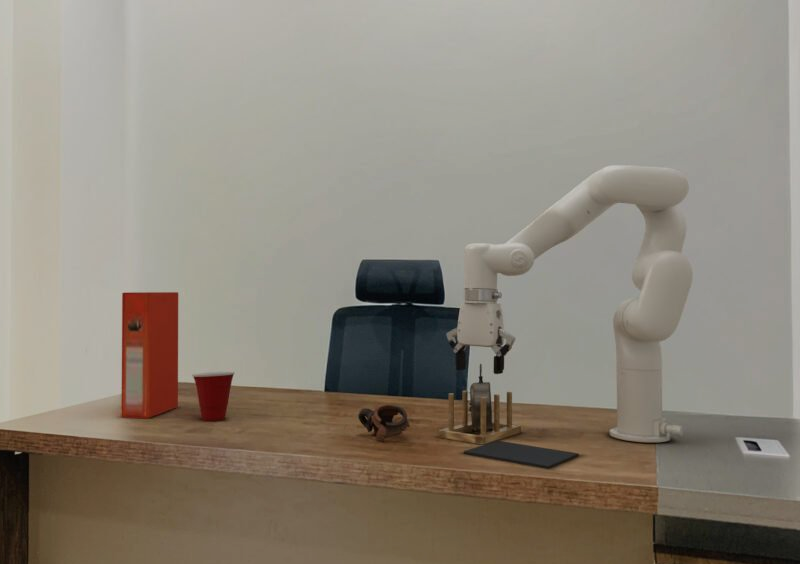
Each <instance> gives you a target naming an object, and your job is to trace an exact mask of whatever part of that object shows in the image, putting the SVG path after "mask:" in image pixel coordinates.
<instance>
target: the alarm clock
mask: <svg viewBox="0 0 800 564" xmlns="http://www.w3.org/2000/svg"><path fill="white" fill-rule="evenodd" d="M482 371H483V365H482V363H480V364H479V376H478V382H473V383H471V385H470V387H469V392H468V394H469V399H470V402H468V405H469V408H468V411H469V412H470V417H471V422H472V427H473V429H472V431H471V432H470V434H473V432H475V431H476V432H481V397H486V433H487V432H490V431H494V429H493V425H492V422H493V408H492V407H493V406H492V393H491V383H490V381H488V382H487V381H486V382H485V381H484V380H483V379H484V377H483V376H482ZM474 430H475V431H474Z"/></svg>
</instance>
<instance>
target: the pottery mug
mask: <svg viewBox="0 0 800 564" xmlns="http://www.w3.org/2000/svg"><path fill="white" fill-rule="evenodd" d="M399 414H400V416H401V417H402V419H401V420H400V421H397V422H393V420H394V417H395V416H398V415H399ZM357 417H358V420H359V422H360V423H361V425H362V426H363V427H365V428H366V430H367V432H368V433H371V432H372V431H373V434H374V435H375V434H376V439H377V440H379V441H381V442H383V441H384V440H385V439H386V438H389V437H392V436H397V435H401V434H403V432H405V431H406V430H407V428H410V423H409V420H408V413H407V412H406V411H405V409H404V408H402V407H401V406H399V405H396V404H392V403H384V404H383V403H382V404H380V405H378V406H376V408H374V410H372V409H371V408H366V407H365V408H362V409H361V410H359V412H358V415H357Z"/></svg>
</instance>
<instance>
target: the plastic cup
mask: <svg viewBox="0 0 800 564" xmlns="http://www.w3.org/2000/svg"><path fill="white" fill-rule="evenodd" d="M234 375H235V371H212V372H200V373H193V374H191V376H192V377H193V380H194V383H195V387H196V392H197V393H196V394H197V399H198V405H199V410H200V417H201V420H202V421H206V422H219V421H224V420H225V419H226V415H227V410H228V406H229V399H230V393H231V387H232V381H233V378H234Z"/></svg>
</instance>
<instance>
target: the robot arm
mask: <svg viewBox="0 0 800 564" xmlns="http://www.w3.org/2000/svg"><path fill="white" fill-rule="evenodd" d="M689 189H690V188H689V181H688V179H687V176H685V174H684V173H683V172H682V171H679V170H678V169H675V168H672V167H666V166H665V167H664V166H644V165H629V164H611V165H607V166H604V167H603V168H600V169H599V170H597V171H595V172H593V173H592V174H590V175H589V176H587V178H585V179H584V180H583V181H581V182H580V183H579V184H577V185H576V186H575V187H574V188H573V189H571V190H570V191H569V192H568V193H566V194H565V195H564V196H562V197H561V198H560V199H558V200H556V202H554V203H553V204H552V205H551V206H550V207H549V208H547V209H546V210H545V211H543V212H542V213H541V214H540V215H539V216H538V217H537V218H535V219H534V220H533V221H532V222H531V223H530V224H528V225H526V227H524V228H523V229H522V230H520V231H519V232H517V234H515V235H514V236H513V237H511V238H510V239H509V240H508V241H506V242H505V243H497V244H493V243H488V242H487V243H486V242H475V243H474V242H473V243H468V244H467V245H465V247H464V255H463V256H464V257H463V265H464V266H463V302H461V303H460V308H459V313H458V319H457V326H456V327H455V328H453V329H451V330H450V331H448V332H446V334H445V336H446V338H447V341H448V344H449V346H450V348H451V349H452V350H453V353H455V370H456V371H465V370H466V368H467V367H466V366H467V353H466V352H465V350H466V348H467V347H469V346H471V347H481V348H482V347H483V348H491V349H492V351H493V352H494V354H495V356H493V374H494V375H501V374H503V373H504V370H505V356H507V354H508V353H509V351H511V350H512V347H513V345H514V344H515V341H516V337H515V336H514V335H512V334H511V333H509V332H508V331H507V330H505V326H504V323H505V322H504V315H503V309H502V305H501V303H498V299H502V297H503V293H502V292H501V291H500V292H499V290H498V274H500V275H503V276H506V277H516V276H517V277H518V276H522V275H525V274H526V273H528V272H529V271H531V269H532V268H533V266H534V263H535V260H536V259H538V258H539V257H540V256H541V255H543V254H544V253H546V252H548V251H549V250H550V249H552V248H554V247H556V246H558V245H560V244H561V243H564V242H566V241H568V240H571V238H573V237H574V236H576V235H577V234H579V233H580V232H581V231H582V230H584V228H586V227H587V226H588V225H590V224H591V223H593V222H594V221H595V220H596V219H598V218H599V217H600V216H601V215H602V214H604V213H605V212H607V211H608V210H609V209H610V208H611V207H613V206H615V205H616V204H630V205H635V206H636V207H637V209H638V210H639V211H640V213H641V214H642V216H643V219H644V223H645V228H644V234H643V238H642V241H641V244H640V247H639V250H638V252H637V257H636V259H635V262H634V265H633V268H632V272H631V281H632V283H633V285H634V287H636V288H637V289H638V290H639V291H640V292H639V296H638V297H630V298H626V299H625V300H623V301H622V302H621V303H620V304H619V305H617V307H616V309H615V311H614V314H613V318H612V319H613V320H612V326H613V334H614V341H615V350H616V352H615V354H616V427H613V428H611V429H609V436H611V437H612V438H615V439H616V440H617V439H618V440H622V441H627V442H634V443H648V444H649V443H650V444H651V443H652V444H653V443H654V444H655V443H667V442H669V441H670V440H671V435H673V436H674V435H675V436H683V432H684V429H683V426H681V425H679V424H678V425H677V424H669V422H667V418H666V417H663V357H662V356H663V355H662V347H661V343H660V342H663V341H665V340H667V339H669V338H670V337H671V336H672V335H673V334H674V333H675V332H676V330H677V328H678V326H679V324H680V321H681V318H682V315H683V312H684V309H685V306H686V303H687V300H688V296H689V293H690V290H691V287H692V284H693V267H692V264H691V262H690V261H689V259H688V258H687V257H686V256H685V255H684V254H682V251H683V247H684V243H685V239H686V235H687V219H686V217H685V214H684V211H683V210H682V207H681V205H680V204H681V203H682V202H683V201H684V200H685V199H686V197H687V195H689V194H688V193H689ZM456 337H457V338H456ZM456 339H457V340H456Z"/></svg>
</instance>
